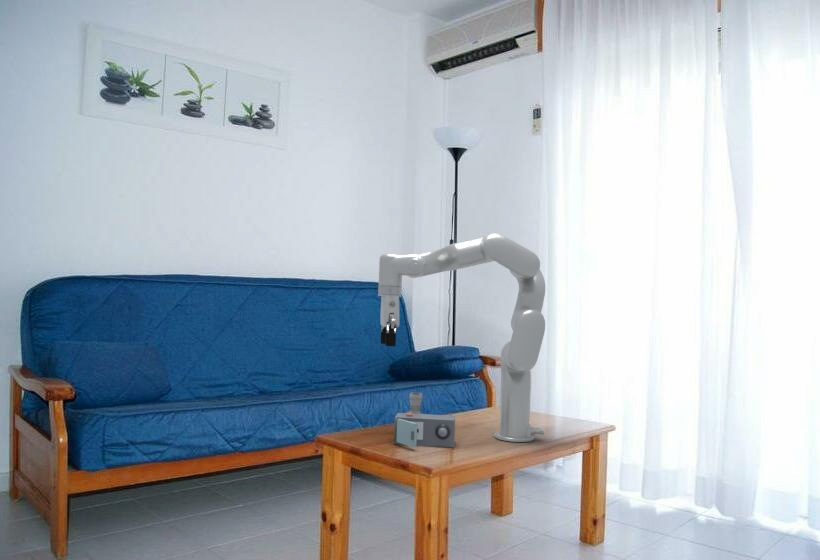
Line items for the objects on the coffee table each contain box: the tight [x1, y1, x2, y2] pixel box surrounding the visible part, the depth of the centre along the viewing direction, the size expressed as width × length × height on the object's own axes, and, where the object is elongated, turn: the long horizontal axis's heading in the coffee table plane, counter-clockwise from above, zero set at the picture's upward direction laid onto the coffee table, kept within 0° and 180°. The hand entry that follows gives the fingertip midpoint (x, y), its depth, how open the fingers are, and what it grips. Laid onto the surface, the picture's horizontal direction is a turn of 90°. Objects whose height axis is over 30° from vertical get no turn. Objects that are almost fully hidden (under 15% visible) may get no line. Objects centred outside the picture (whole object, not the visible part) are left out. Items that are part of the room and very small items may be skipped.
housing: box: [393, 412, 456, 448], centre depth 196 cm, size 18×9×9 cm, turn 85°
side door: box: [396, 419, 417, 448], centre depth 189 cm, size 8×2×7 cm, turn 40°
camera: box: [404, 392, 423, 414], centre depth 216 cm, size 9×12×15 cm
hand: (387, 344), depth 208 cm, fingers open, 9 cm apart
